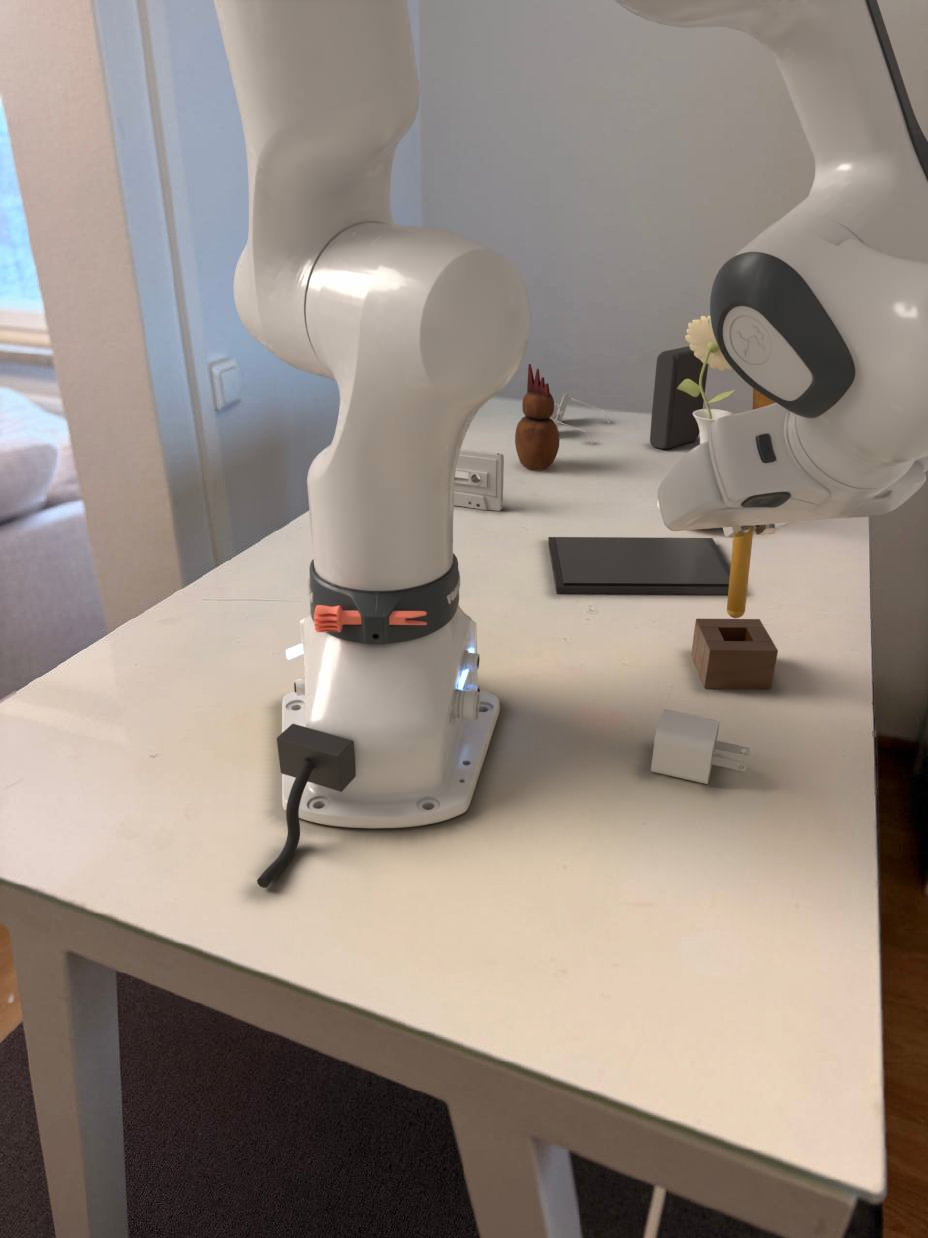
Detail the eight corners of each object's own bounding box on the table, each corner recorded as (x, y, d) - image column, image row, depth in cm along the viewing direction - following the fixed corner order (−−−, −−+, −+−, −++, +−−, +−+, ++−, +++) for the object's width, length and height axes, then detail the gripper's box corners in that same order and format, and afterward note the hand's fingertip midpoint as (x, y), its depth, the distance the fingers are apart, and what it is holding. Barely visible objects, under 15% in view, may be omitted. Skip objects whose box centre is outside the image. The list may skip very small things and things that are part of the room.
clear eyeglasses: (563, 417, 160) (569, 390, 158) (608, 429, 158) (615, 401, 156) (541, 439, 149) (547, 410, 146) (590, 452, 147) (597, 423, 144)
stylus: (747, 620, 81) (764, 452, 75) (728, 620, 81) (743, 452, 75) (742, 614, 82) (758, 449, 77) (723, 614, 82) (738, 449, 77)
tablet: (740, 594, 98) (741, 586, 98) (556, 593, 99) (556, 585, 98) (711, 543, 111) (712, 536, 110) (548, 542, 111) (548, 535, 110)
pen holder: (771, 689, 82) (778, 650, 80) (704, 688, 82) (709, 650, 80) (753, 655, 87) (759, 618, 85) (690, 654, 87) (695, 618, 85)
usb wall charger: (659, 746, 74) (665, 705, 72) (747, 765, 72) (754, 724, 70) (650, 775, 71) (655, 733, 69) (741, 796, 68) (749, 753, 66)
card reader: (681, 435, 151) (692, 342, 144) (701, 440, 148) (713, 346, 141) (645, 445, 146) (654, 350, 138) (665, 451, 143) (675, 355, 136)
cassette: (504, 508, 121) (505, 452, 118) (499, 512, 120) (500, 456, 116) (423, 496, 125) (421, 442, 122) (417, 500, 124) (416, 446, 120)
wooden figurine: (508, 462, 138) (510, 363, 131) (541, 457, 140) (545, 359, 133) (529, 475, 133) (533, 372, 126) (563, 470, 135) (569, 368, 128)
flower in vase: (763, 527, 115) (797, 324, 103) (688, 540, 111) (714, 331, 100) (703, 494, 126) (728, 306, 114) (632, 505, 122) (650, 312, 110)
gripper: (945, 406, 68) (844, 487, 81) (693, 419, 64) (629, 502, 77) (970, 482, 66) (863, 553, 79) (712, 500, 62) (643, 571, 75)
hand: (746, 528), depth 78 cm, fingers closed on stylus, 1 cm apart
